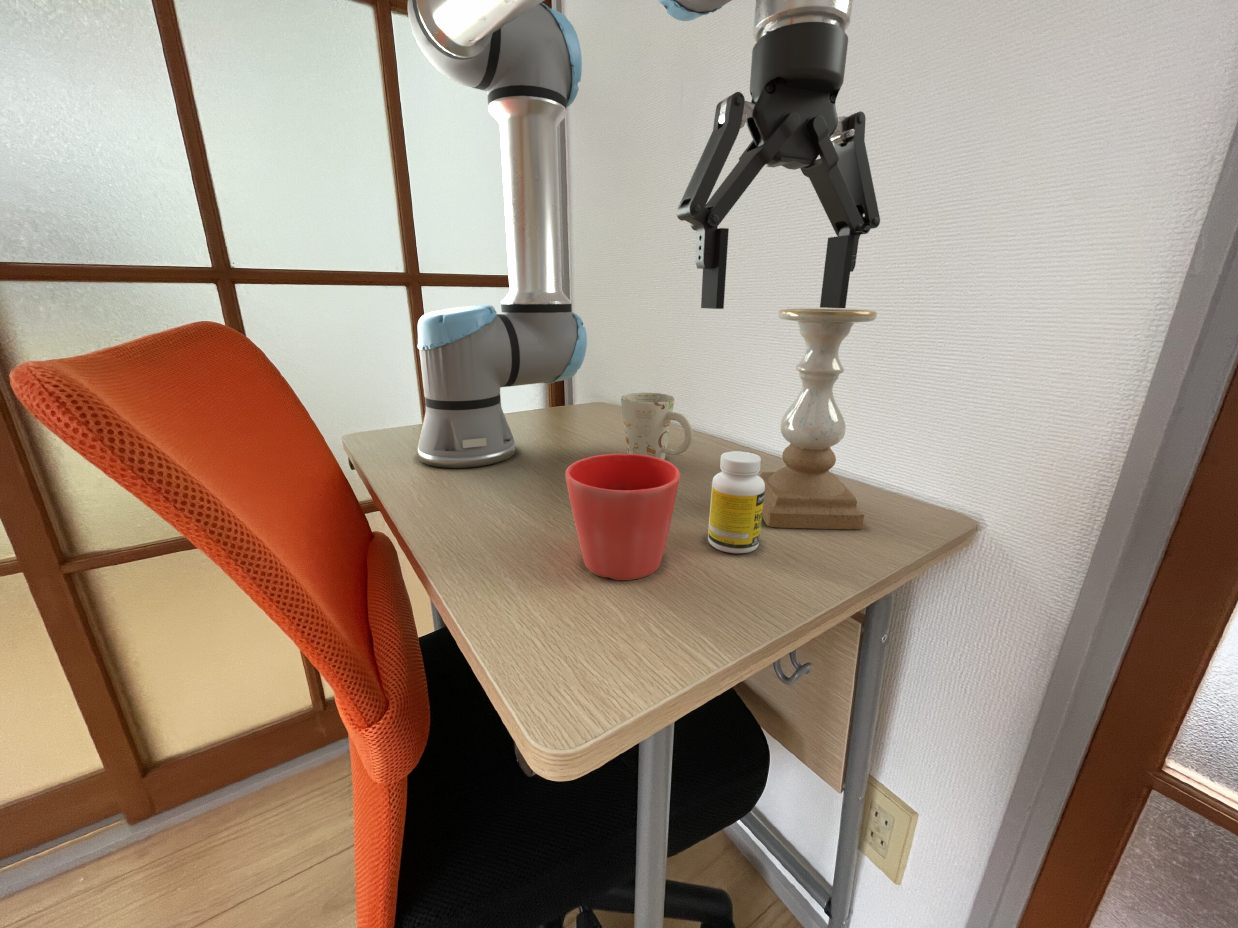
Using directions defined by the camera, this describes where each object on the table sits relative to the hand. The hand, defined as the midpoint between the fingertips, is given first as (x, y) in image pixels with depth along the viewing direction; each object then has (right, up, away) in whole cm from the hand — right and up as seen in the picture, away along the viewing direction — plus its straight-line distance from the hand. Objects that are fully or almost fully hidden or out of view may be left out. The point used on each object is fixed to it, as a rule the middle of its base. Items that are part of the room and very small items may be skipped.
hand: (774, 308), depth 50 cm
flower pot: (-14, -25, +3) cm, 29 cm away
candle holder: (+8, -21, +16) cm, 27 cm away
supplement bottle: (-2, -23, +7) cm, 25 cm away
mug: (-9, -14, +35) cm, 39 cm away
